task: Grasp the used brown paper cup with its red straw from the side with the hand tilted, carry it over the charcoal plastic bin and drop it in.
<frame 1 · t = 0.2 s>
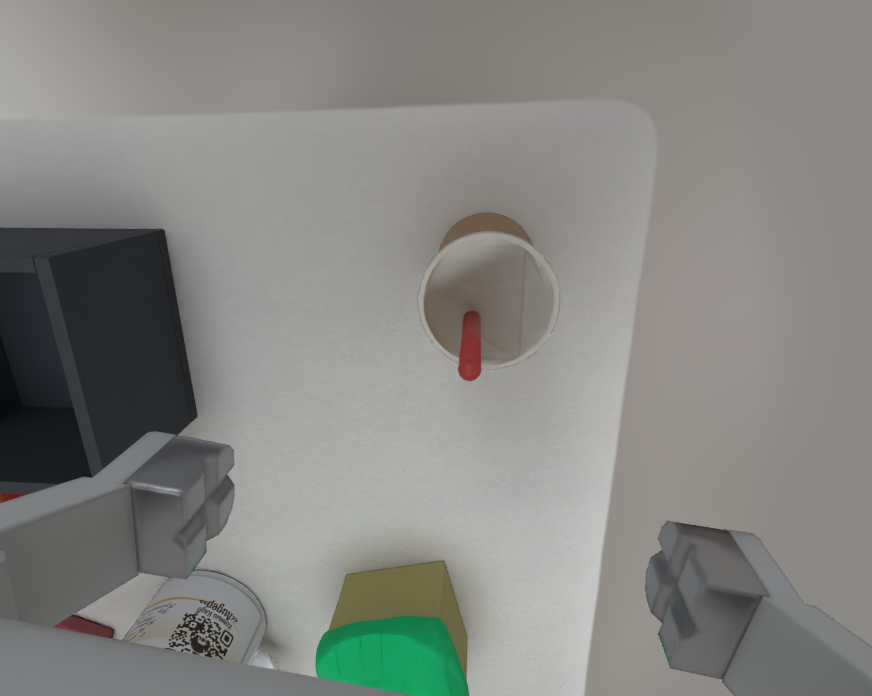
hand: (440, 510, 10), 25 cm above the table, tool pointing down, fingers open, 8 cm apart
bin: (88, 326, 37), on the table
popsicle: (77, 634, 48), on the table
paper cup: (485, 261, 33), on the table
mug: (222, 620, 46), on the table
cake: (406, 600, 44), on the table
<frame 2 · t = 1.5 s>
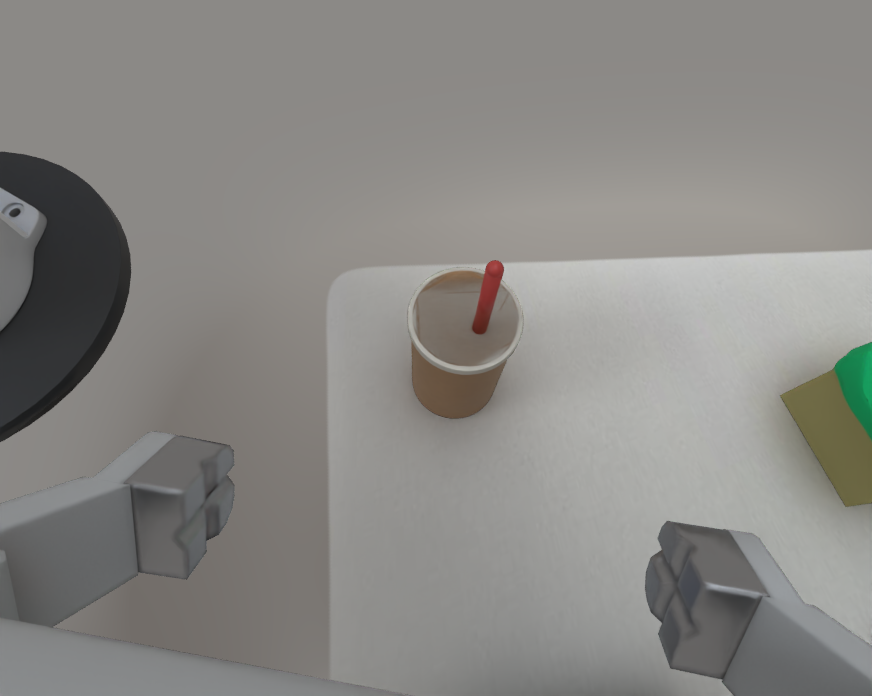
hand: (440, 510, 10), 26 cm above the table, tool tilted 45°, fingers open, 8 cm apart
paper cup: (453, 378, 38), on the table
cake: (852, 434, 38), on the table
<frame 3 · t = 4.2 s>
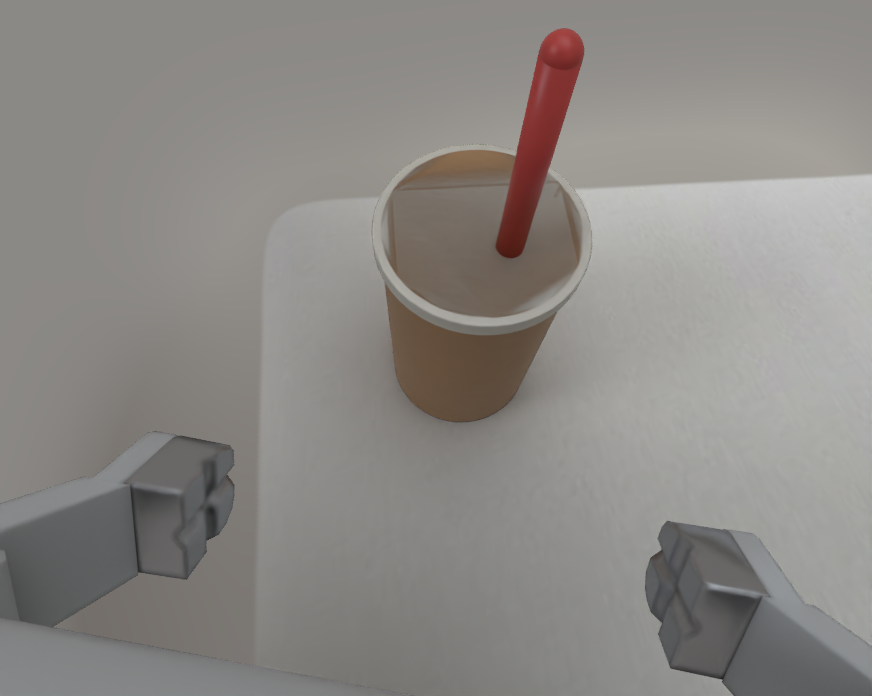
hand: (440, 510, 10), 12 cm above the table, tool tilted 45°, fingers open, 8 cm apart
paper cup: (459, 359, 24), on the table
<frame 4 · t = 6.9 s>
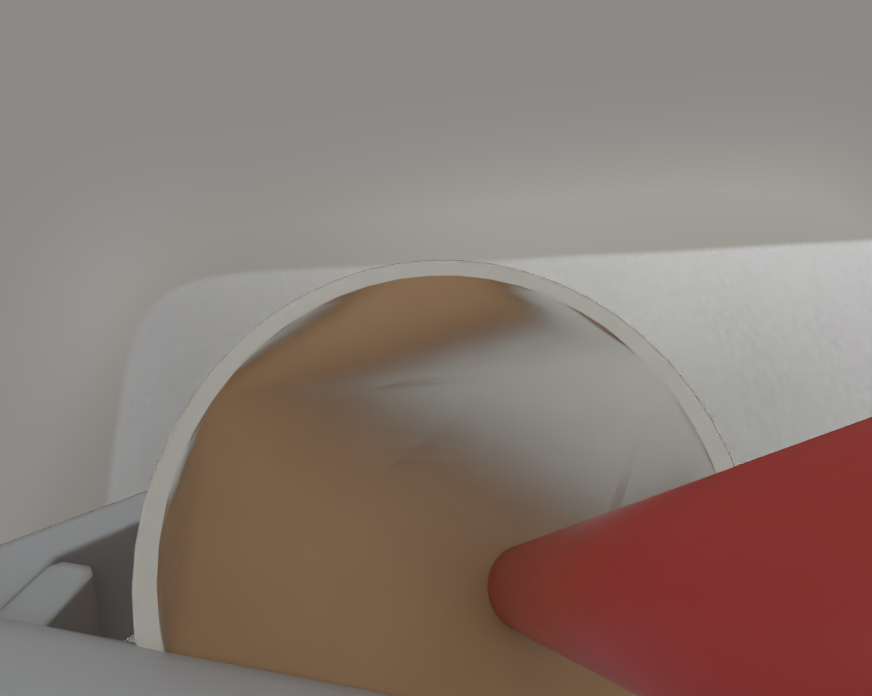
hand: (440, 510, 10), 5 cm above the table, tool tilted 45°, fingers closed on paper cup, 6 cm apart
paper cup: (431, 557, 15), on the table, touching gripper
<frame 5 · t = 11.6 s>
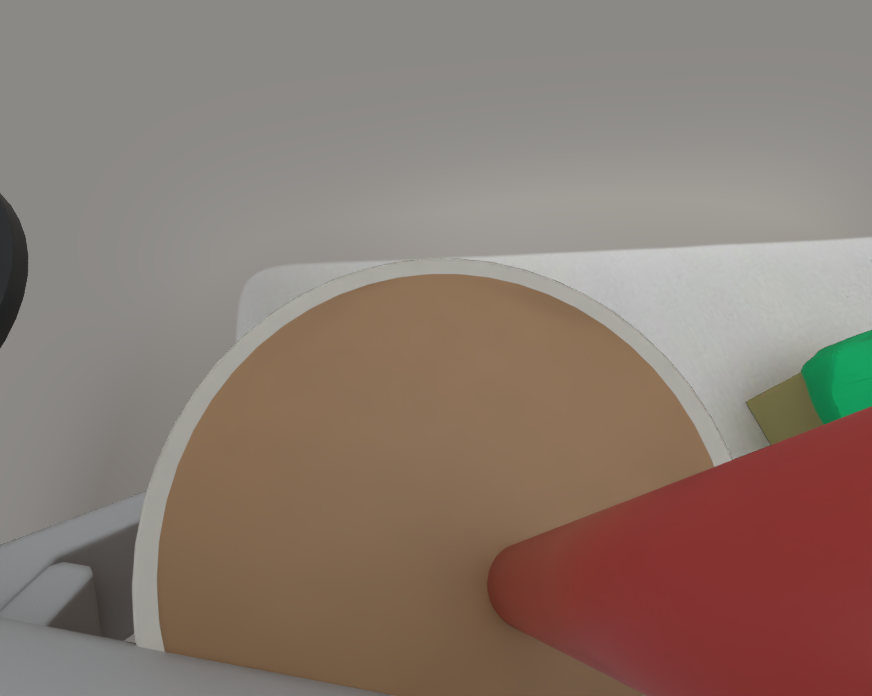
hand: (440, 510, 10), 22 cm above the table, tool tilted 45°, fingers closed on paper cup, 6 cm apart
paper cup: (432, 556, 15), point 16 cm above the table, touching gripper
cake: (827, 445, 33), on the table
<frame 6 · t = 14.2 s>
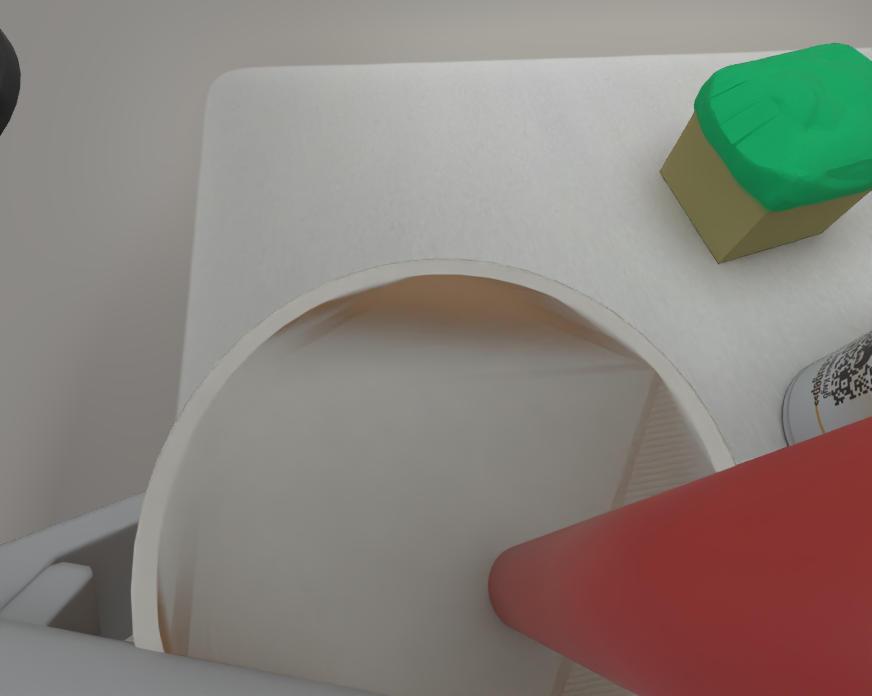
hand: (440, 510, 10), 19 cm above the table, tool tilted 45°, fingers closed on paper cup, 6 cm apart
paper cup: (432, 557, 15), point 14 cm above the table, touching gripper
cake: (731, 204, 37), on the table
when the fingers open (13 cm above the table, at t = 16.4 s): paper cup drops 7 cm, resting on bin.
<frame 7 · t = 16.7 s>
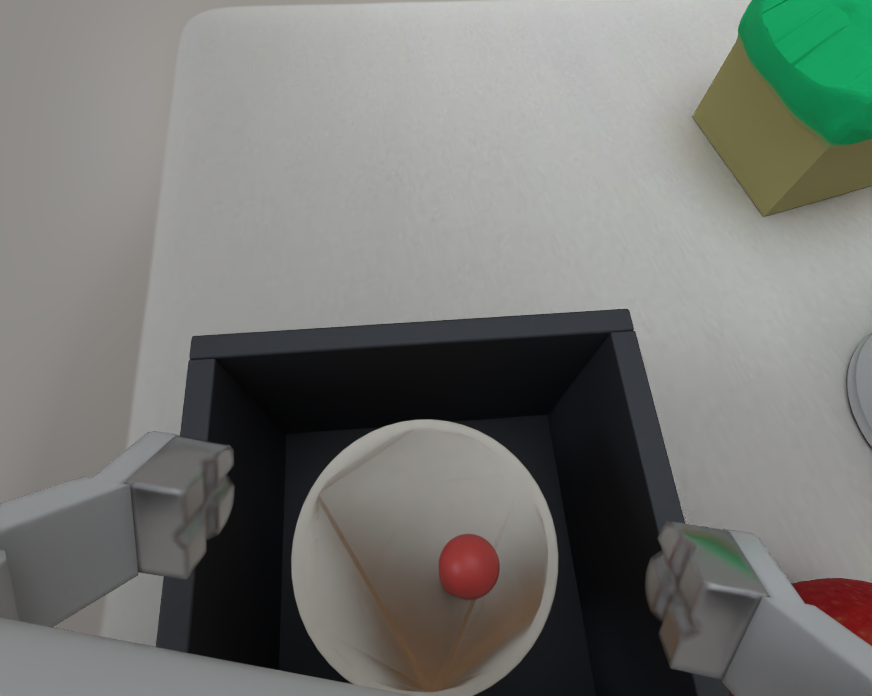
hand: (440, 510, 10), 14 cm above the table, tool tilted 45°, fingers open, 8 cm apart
bin: (428, 565, 23), on the table
paper cup: (431, 565, 22), point 1 cm above the table, touching bin
apple: (788, 686, 21), on the table
cake: (775, 153, 33), on the table
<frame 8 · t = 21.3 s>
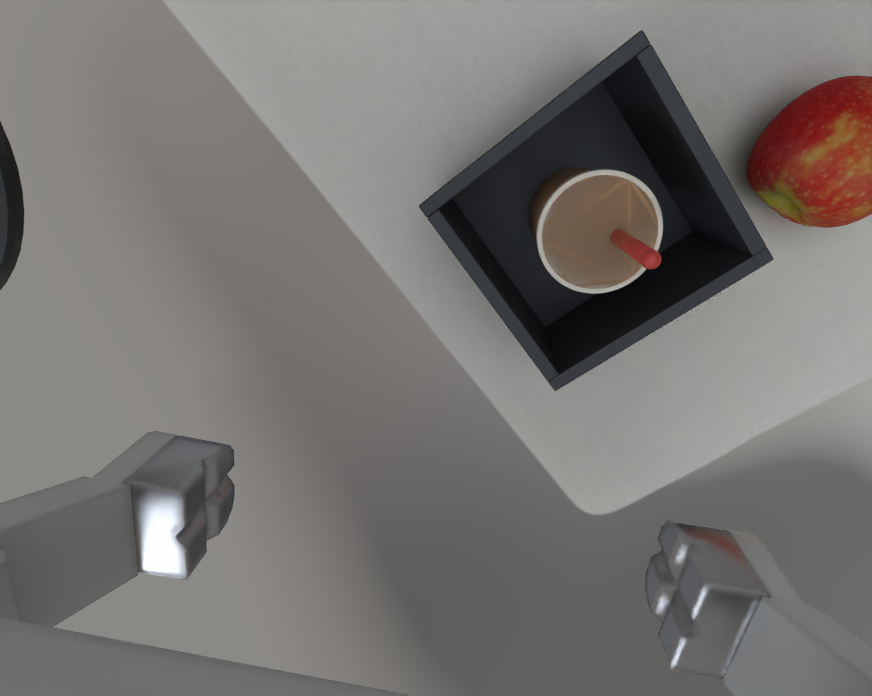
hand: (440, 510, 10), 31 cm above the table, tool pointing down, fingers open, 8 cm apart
bin: (568, 212, 38), on the table
paper cup: (571, 212, 37), point 1 cm above the table, touching bin
apple: (799, 151, 35), on the table
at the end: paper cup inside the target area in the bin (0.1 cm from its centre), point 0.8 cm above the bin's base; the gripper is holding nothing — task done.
